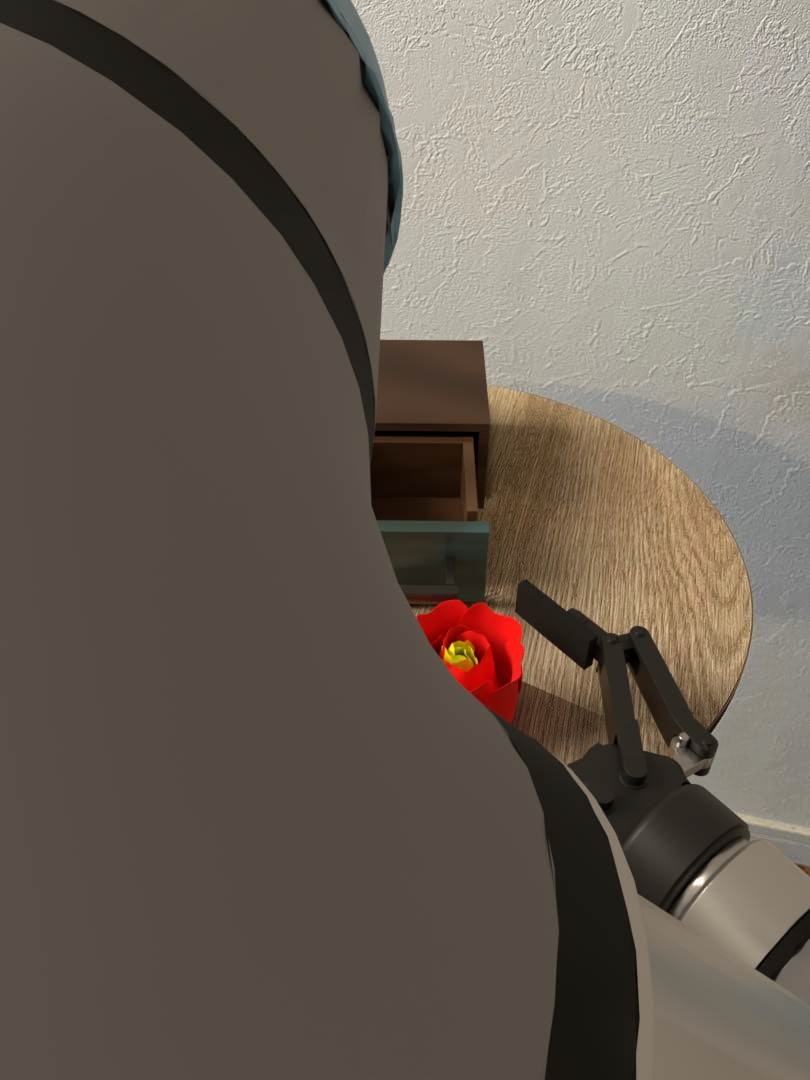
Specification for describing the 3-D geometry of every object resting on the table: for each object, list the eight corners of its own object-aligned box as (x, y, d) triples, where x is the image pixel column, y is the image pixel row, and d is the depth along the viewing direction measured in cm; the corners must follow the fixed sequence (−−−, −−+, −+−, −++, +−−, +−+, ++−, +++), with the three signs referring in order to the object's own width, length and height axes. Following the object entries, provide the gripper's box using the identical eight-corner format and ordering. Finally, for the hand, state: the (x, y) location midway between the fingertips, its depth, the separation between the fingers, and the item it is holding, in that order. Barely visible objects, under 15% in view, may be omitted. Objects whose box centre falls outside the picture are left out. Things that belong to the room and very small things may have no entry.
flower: (452, 660, 68) (456, 578, 63) (543, 717, 64) (556, 636, 59) (378, 728, 64) (375, 647, 58) (470, 794, 60) (477, 714, 55)
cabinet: (484, 509, 81) (490, 423, 75) (344, 507, 81) (340, 422, 75) (477, 422, 90) (482, 340, 84) (352, 420, 90) (349, 339, 84)
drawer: (487, 644, 68) (493, 574, 64) (339, 642, 68) (335, 572, 64) (477, 502, 80) (482, 434, 75) (351, 500, 80) (348, 433, 75)
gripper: (522, 1079, 46) (280, 778, 58) (830, 799, 57) (573, 597, 70) (537, 1013, 41) (268, 699, 53) (871, 720, 52) (586, 518, 65)
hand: (441, 641), depth 62 cm, fingers open, 13 cm apart
